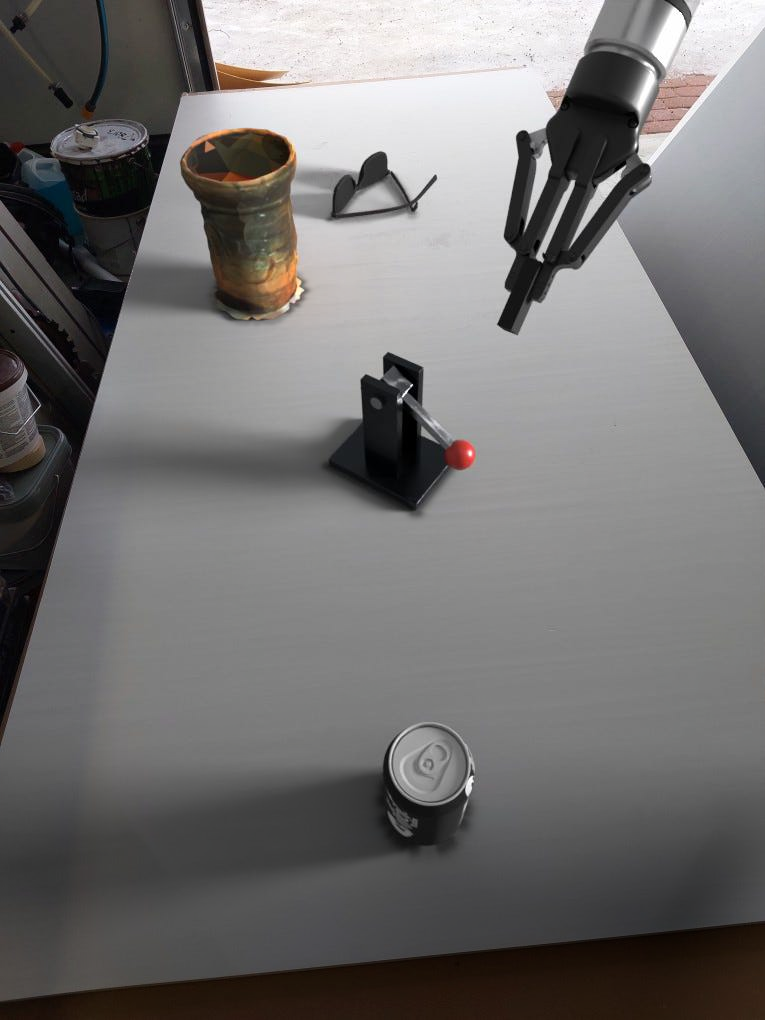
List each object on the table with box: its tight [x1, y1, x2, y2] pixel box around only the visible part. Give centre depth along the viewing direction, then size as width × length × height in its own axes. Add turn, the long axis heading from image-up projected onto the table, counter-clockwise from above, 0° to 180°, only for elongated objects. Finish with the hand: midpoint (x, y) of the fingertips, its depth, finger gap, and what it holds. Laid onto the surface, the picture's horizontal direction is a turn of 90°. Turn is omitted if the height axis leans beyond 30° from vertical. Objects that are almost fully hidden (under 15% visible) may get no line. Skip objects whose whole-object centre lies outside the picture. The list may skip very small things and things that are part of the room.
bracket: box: [327, 351, 452, 512], centre depth 75 cm, size 12×9×14 cm
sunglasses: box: [330, 150, 438, 220], centre depth 111 cm, size 17×14×5 cm
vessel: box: [179, 127, 305, 321], centre depth 92 cm, size 14×14×20 cm
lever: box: [379, 366, 476, 471], centre depth 71 cm, size 13×3×3 cm
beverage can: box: [382, 721, 476, 847], centre depth 53 cm, size 7×7×12 cm
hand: (507, 329), depth 65 cm, fingers closed
